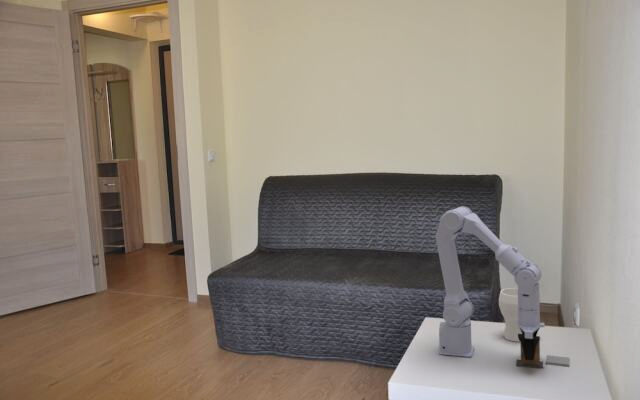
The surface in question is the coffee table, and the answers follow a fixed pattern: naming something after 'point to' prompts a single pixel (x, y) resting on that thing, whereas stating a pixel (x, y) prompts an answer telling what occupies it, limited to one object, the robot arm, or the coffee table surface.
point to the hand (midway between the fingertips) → (529, 354)
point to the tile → (557, 361)
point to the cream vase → (510, 312)
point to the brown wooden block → (536, 357)
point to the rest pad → (518, 363)
